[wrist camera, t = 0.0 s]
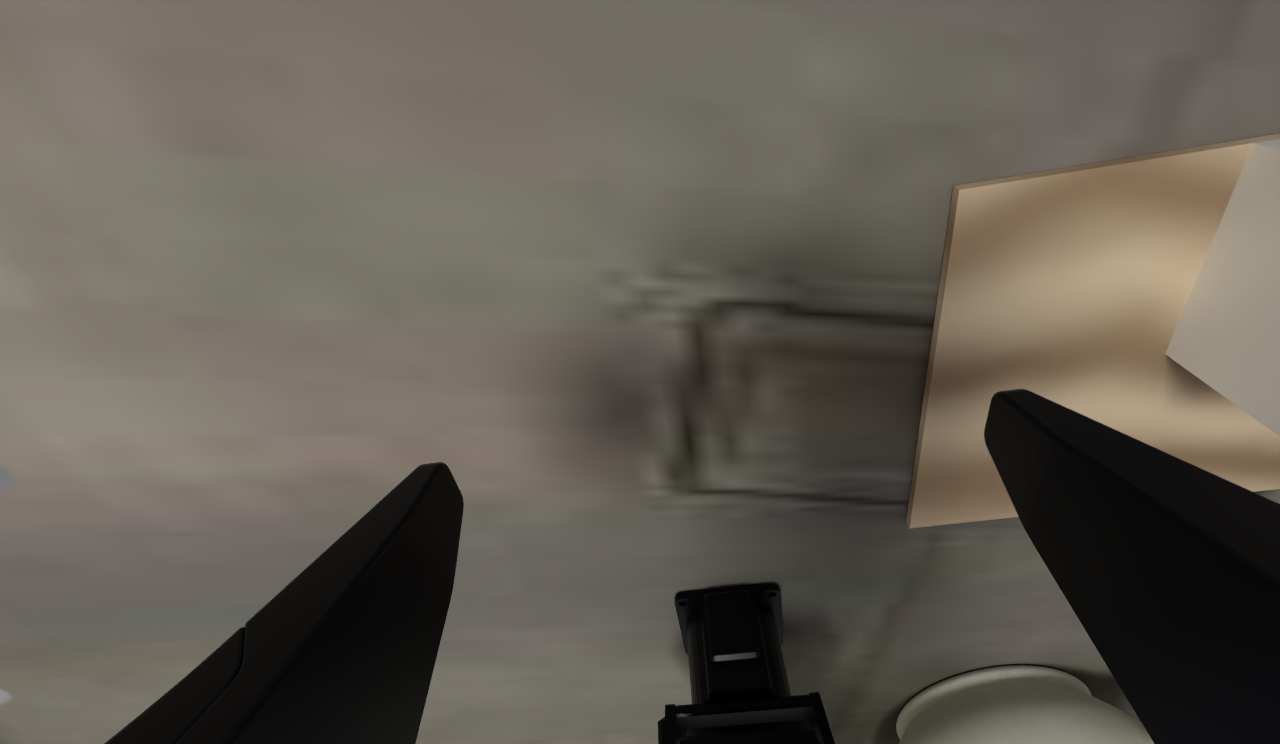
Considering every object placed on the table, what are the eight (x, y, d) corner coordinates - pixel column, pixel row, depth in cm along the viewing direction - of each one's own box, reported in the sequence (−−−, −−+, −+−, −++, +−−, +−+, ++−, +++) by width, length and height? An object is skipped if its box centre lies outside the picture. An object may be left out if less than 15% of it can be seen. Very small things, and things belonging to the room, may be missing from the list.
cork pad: (1274, 481, 31) (1283, 488, 30) (905, 521, 32) (909, 528, 32) (1524, 94, 20) (1541, 96, 19) (953, 185, 22) (959, 189, 21)
